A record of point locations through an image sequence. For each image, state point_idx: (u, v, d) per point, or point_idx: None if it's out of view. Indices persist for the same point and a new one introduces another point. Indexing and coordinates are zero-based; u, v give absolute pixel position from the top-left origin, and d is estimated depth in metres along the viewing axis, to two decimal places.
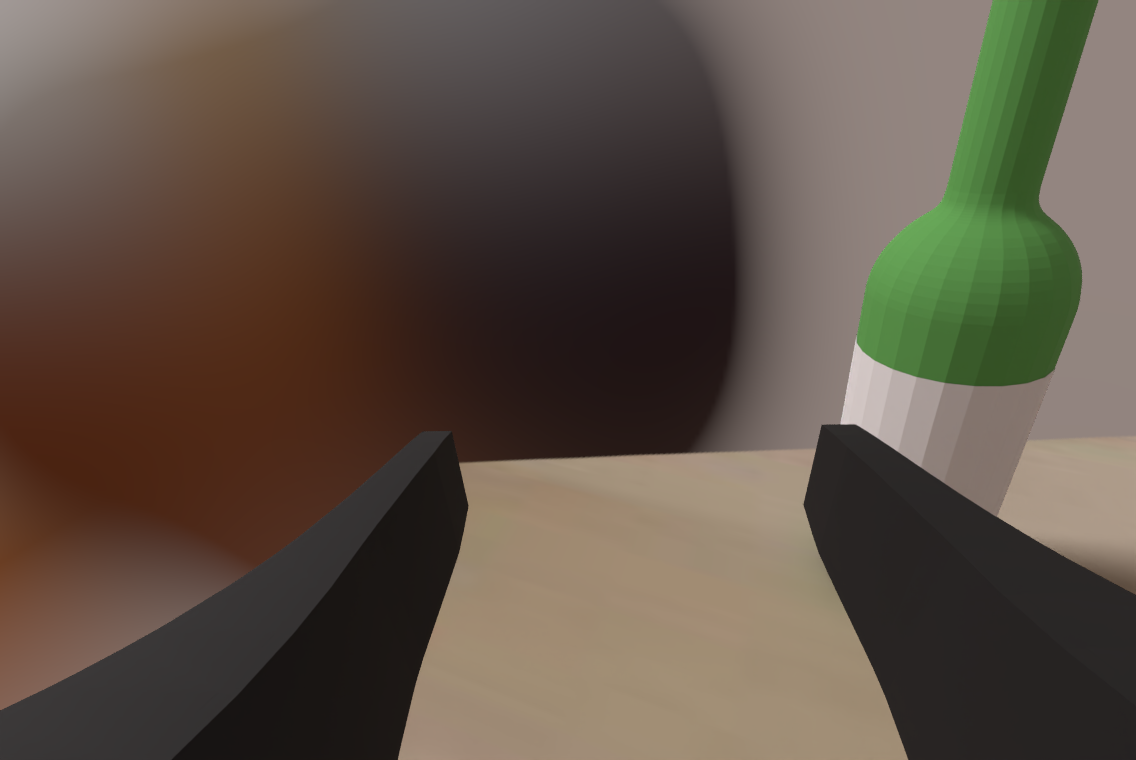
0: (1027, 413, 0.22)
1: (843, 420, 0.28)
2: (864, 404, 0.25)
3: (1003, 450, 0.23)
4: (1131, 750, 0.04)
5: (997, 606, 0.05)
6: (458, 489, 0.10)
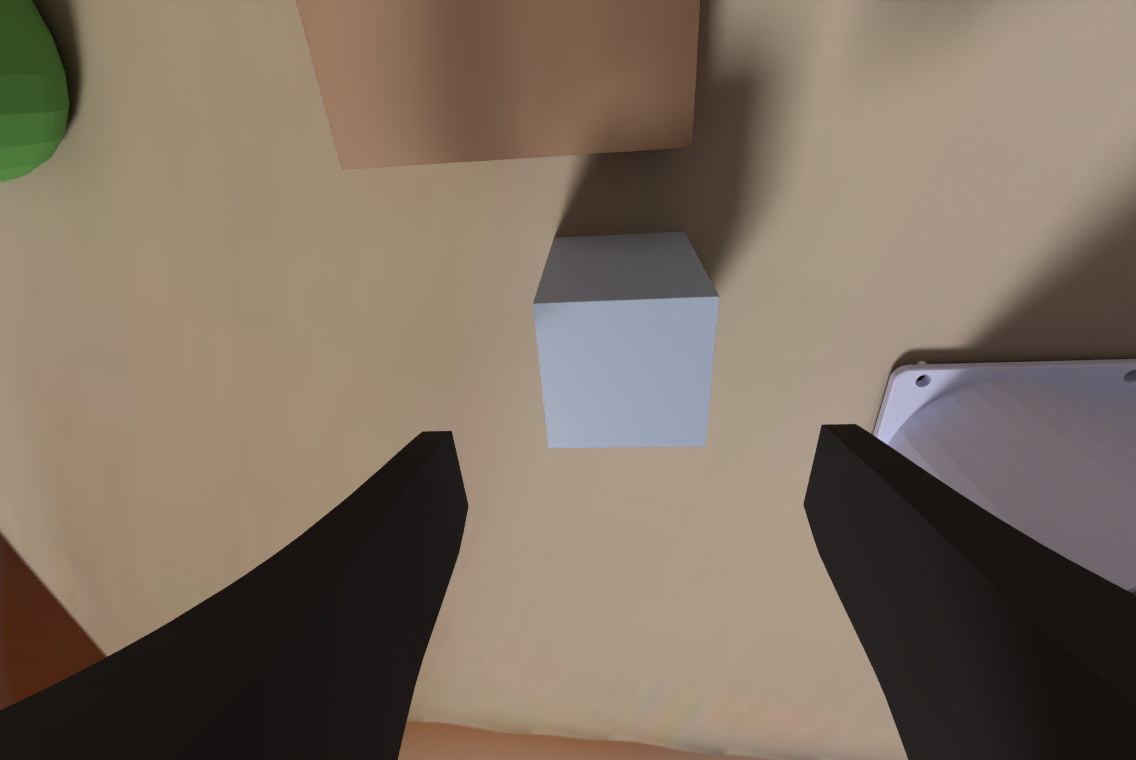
0: None
1: None
2: None
3: None
4: (1130, 749, 0.04)
5: (998, 606, 0.05)
6: (458, 489, 0.10)
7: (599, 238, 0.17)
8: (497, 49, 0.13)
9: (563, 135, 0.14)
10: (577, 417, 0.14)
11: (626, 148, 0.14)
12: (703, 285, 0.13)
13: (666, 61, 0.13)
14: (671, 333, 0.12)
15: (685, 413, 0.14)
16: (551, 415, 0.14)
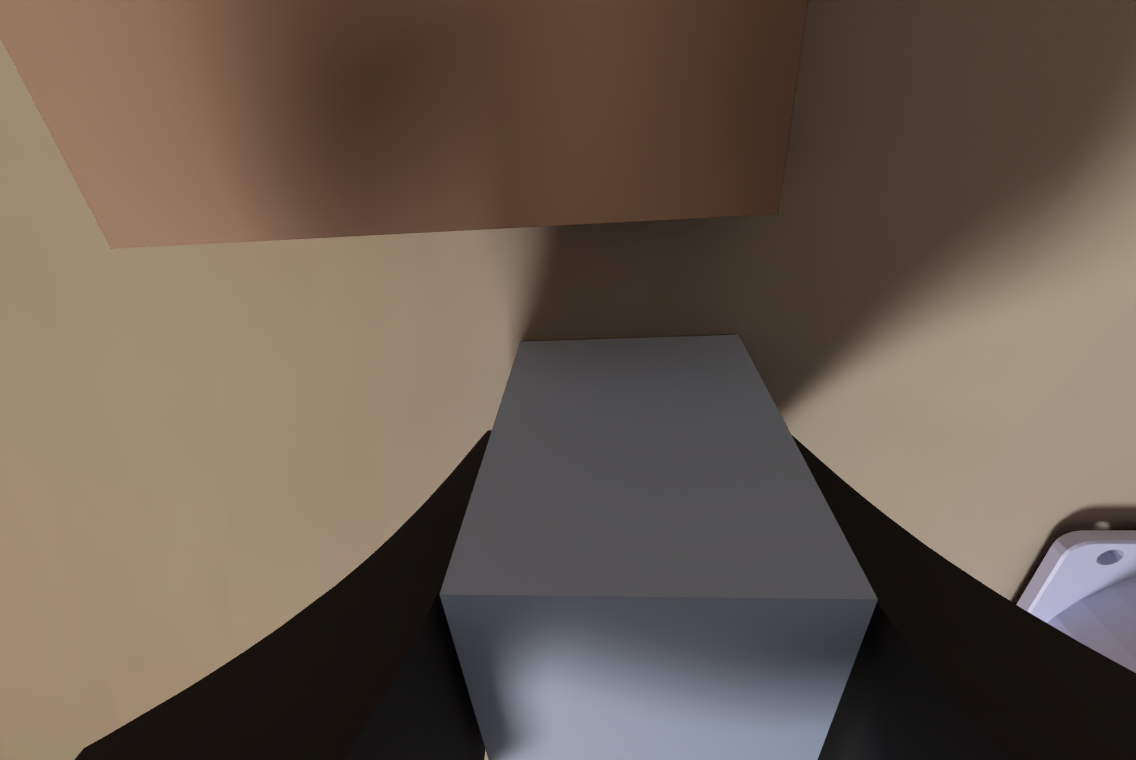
0: None
1: None
2: None
3: None
4: (952, 744, 0.04)
5: None
6: None
7: (595, 348, 0.10)
8: (376, 15, 0.06)
9: (523, 190, 0.07)
10: (550, 753, 0.07)
11: (647, 214, 0.07)
12: (824, 538, 0.06)
13: (735, 40, 0.06)
14: (753, 652, 0.06)
15: (768, 759, 0.07)
16: (498, 748, 0.07)
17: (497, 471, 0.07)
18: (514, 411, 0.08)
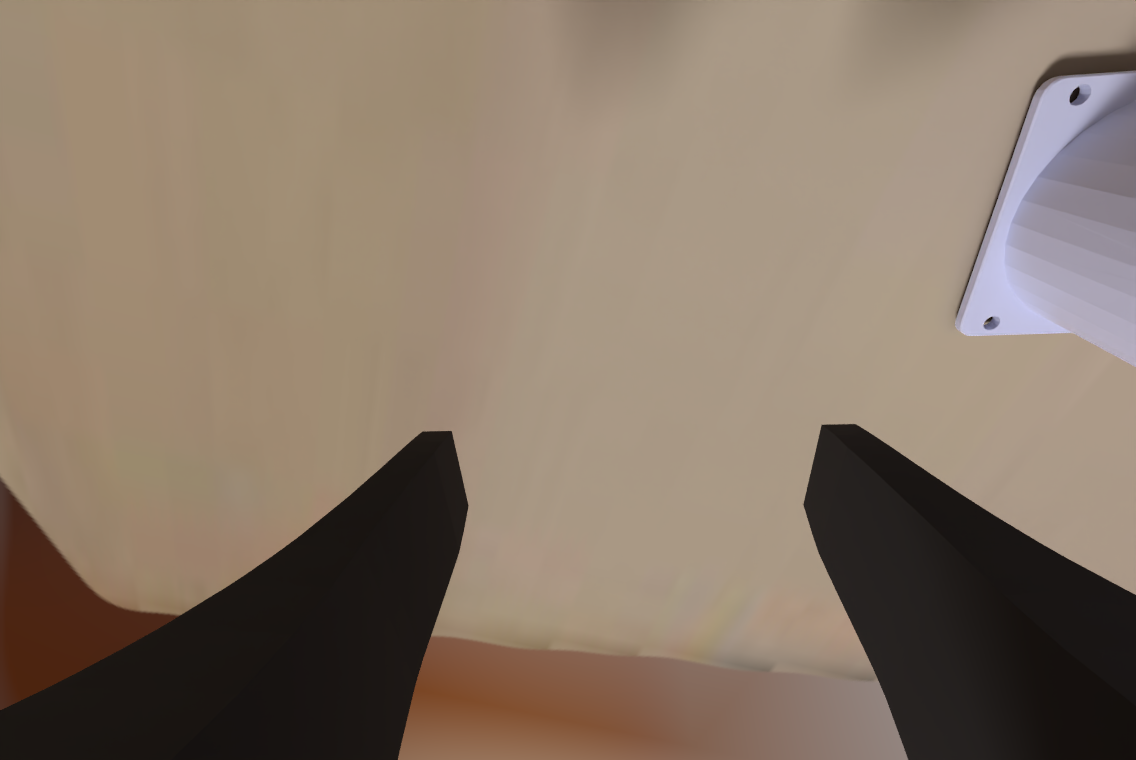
0: None
1: None
2: None
3: None
4: (1131, 750, 0.04)
5: (998, 606, 0.05)
6: (458, 489, 0.10)
7: None
8: None
9: None
10: None
11: None
12: None
13: None
14: None
15: None
16: None
17: None
18: None
